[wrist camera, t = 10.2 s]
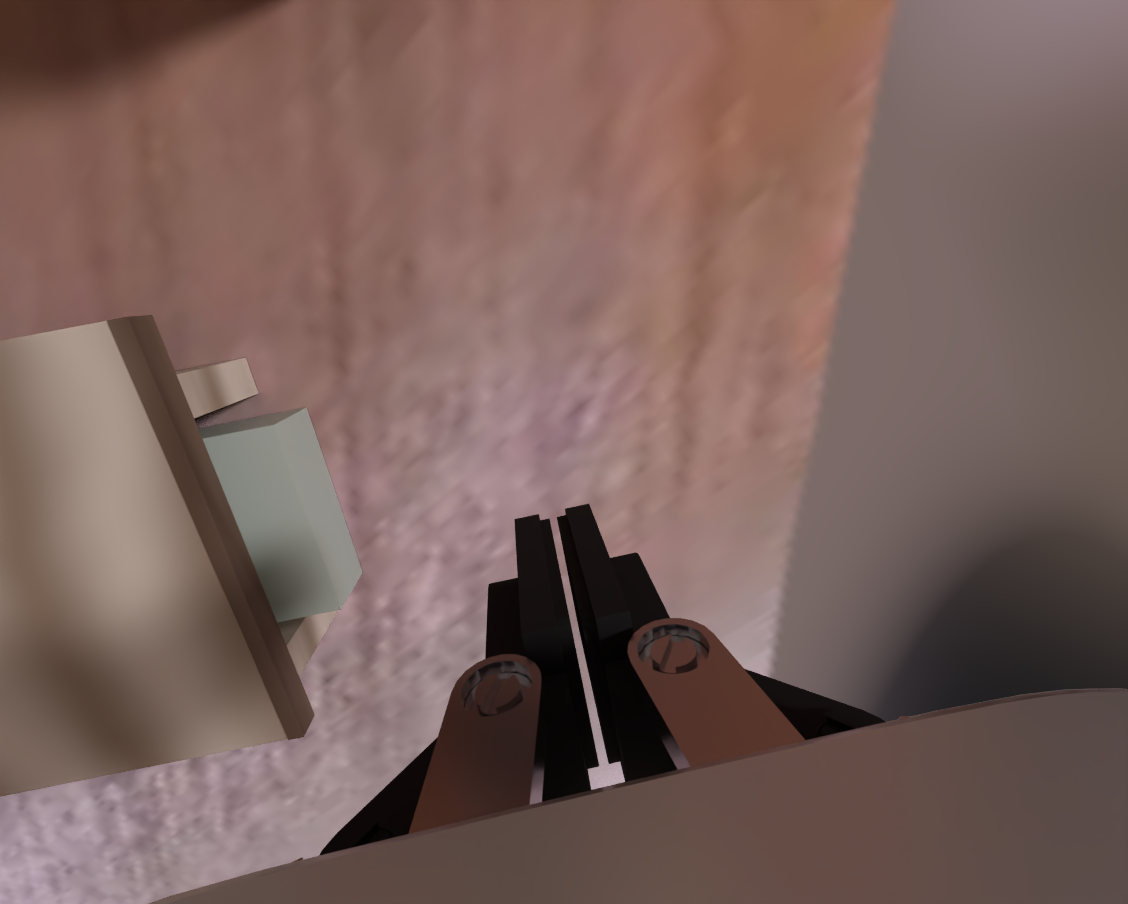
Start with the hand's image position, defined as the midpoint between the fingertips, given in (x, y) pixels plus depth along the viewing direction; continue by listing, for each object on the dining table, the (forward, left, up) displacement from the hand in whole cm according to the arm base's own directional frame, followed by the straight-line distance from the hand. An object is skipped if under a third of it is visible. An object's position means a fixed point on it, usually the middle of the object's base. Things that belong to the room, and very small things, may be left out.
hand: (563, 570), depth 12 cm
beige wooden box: (+1, -17, -12) cm, 21 cm away
